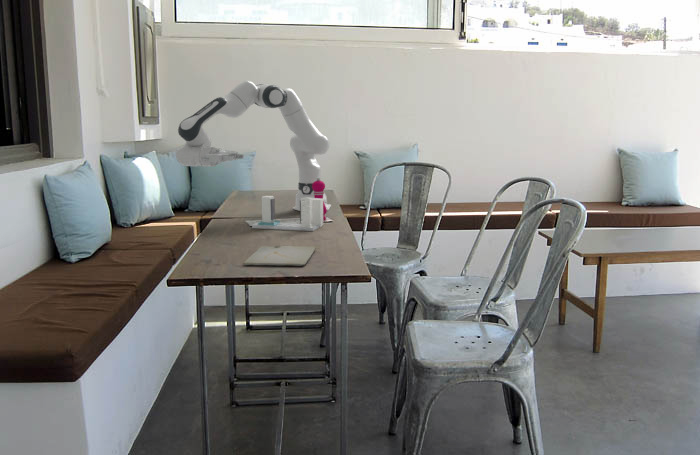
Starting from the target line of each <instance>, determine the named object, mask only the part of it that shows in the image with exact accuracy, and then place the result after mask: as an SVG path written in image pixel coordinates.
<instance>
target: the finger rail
mask: <svg viewBox="0 0 700 455" xmlns="http://www.w3.org/2000/svg"><path fill="white" fill-rule="evenodd" d="M299 219H300V222H301V223H298V222H295V223H294V222H281V221H280V220H276V219H274V223H267V222H262V220H260V221H258V222H255V223H252V224H251V229H259V230H260V229H265V230H279V231H280V230H283V231H284V230H285V231H305V232H315V231H316V230H318V229H319V228H320V227H319V224H313V197H303V198H301V200H300V211H299Z"/></svg>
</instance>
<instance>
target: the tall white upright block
mask: <svg viewBox="0 0 700 455" xmlns="http://www.w3.org/2000/svg"><path fill="white" fill-rule="evenodd" d="M261 219H262V220H261V221H262V222H267V223H274V220H276V199H275V197H274V195H263V196H261Z"/></svg>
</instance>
